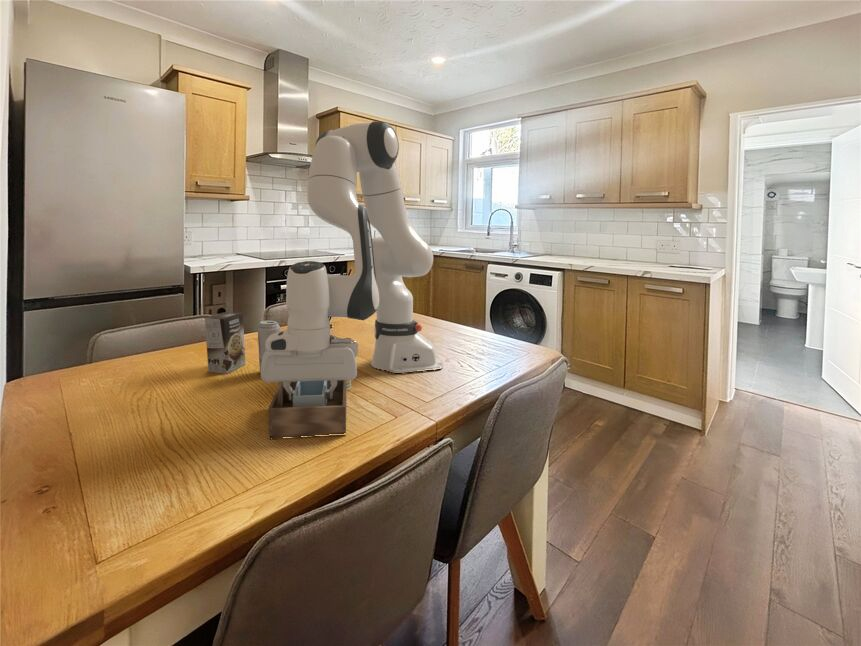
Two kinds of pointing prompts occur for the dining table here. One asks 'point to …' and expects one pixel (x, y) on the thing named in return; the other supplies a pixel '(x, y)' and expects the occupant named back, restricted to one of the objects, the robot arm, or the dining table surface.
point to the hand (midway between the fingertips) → (311, 398)
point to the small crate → (310, 394)
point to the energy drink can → (265, 335)
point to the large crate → (307, 414)
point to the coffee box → (225, 342)
